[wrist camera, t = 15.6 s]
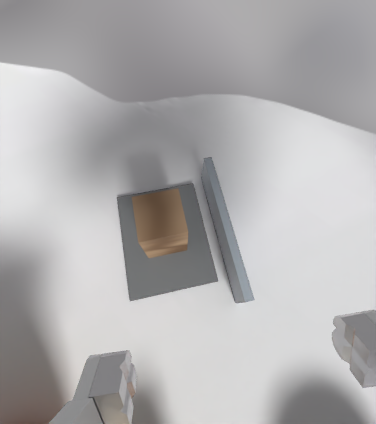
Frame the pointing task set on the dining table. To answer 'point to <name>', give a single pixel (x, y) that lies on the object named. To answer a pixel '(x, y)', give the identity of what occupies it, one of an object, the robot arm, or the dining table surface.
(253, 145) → the dining table surface
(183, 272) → the felt pad
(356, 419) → the dining table surface
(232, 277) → the acrylic wall
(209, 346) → the dining table surface
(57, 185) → the dining table surface
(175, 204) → the walnut block
